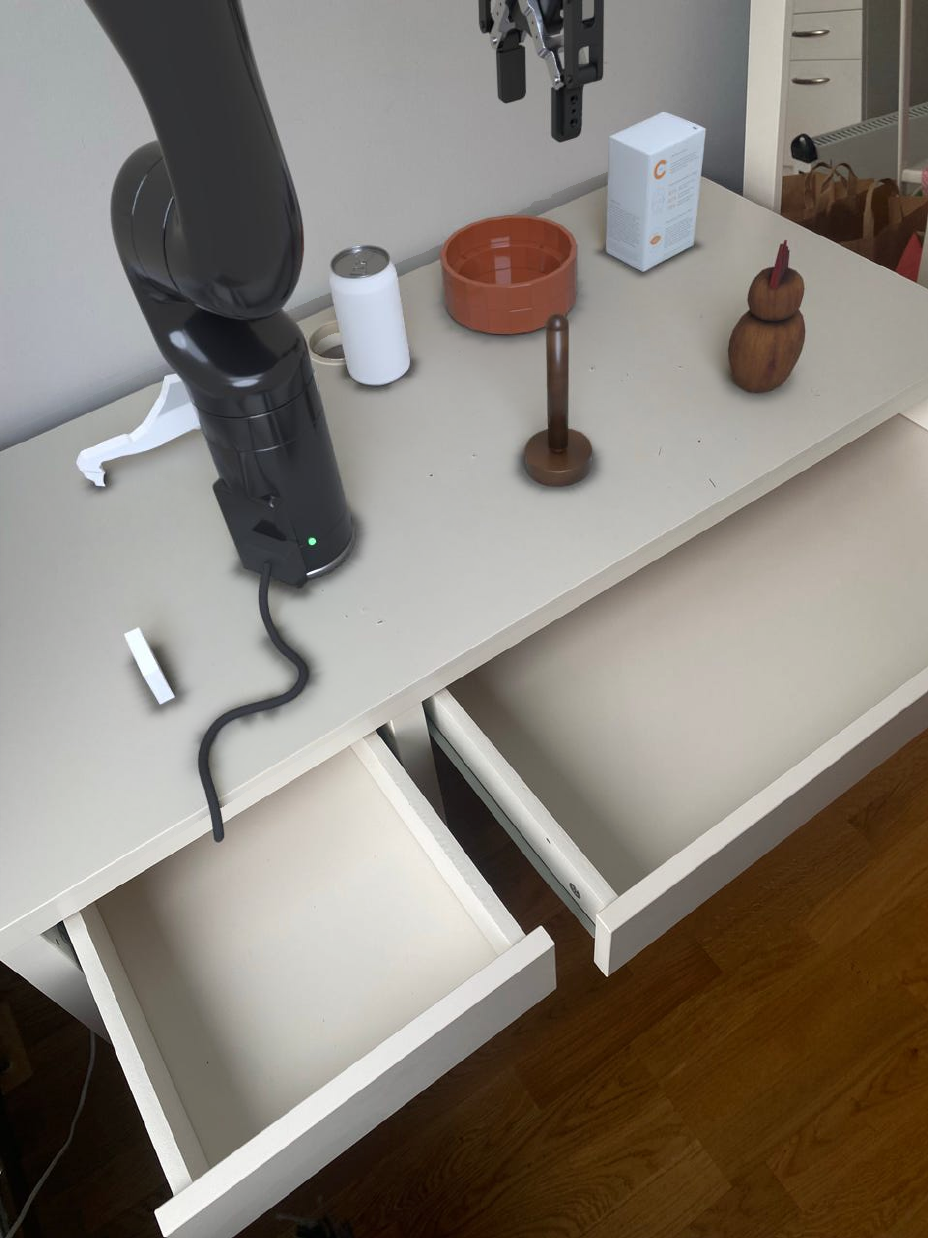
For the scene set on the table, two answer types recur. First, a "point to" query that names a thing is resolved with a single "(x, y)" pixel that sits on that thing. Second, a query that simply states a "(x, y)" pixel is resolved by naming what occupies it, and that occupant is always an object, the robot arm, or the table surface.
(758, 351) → the wooden figurine
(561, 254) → the bowl
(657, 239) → the small box
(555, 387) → the brown post on disc
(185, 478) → the table surface
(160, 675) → the eraser
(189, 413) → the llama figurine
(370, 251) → the can
